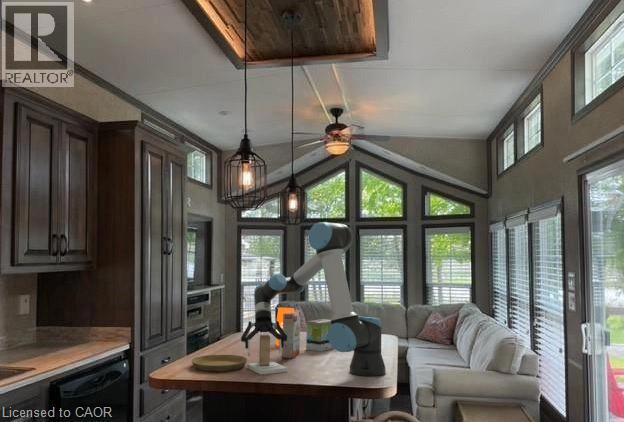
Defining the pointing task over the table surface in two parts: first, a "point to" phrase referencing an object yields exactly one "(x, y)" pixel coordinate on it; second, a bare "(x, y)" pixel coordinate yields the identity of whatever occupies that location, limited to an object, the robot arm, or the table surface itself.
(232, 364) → the plant saucer
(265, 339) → the block
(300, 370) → the table surface
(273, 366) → the board
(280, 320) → the orange juice
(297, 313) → the cracker box
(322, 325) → the tea box
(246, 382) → the table surface
